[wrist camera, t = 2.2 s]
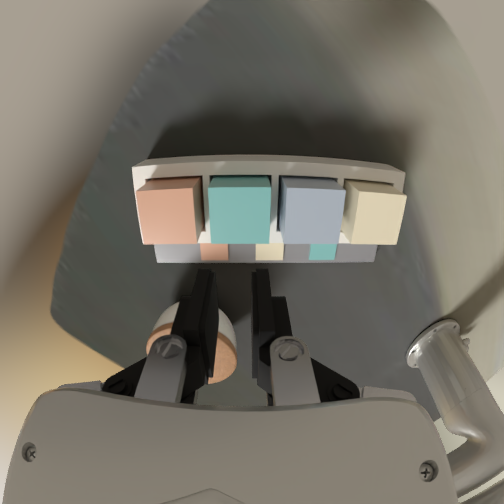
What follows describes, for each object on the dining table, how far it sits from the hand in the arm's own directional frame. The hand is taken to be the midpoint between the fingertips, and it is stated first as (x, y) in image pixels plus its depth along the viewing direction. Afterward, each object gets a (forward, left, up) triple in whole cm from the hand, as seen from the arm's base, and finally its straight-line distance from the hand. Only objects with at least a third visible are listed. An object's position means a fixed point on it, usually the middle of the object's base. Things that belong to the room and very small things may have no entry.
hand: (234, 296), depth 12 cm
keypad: (-3, +2, -17) cm, 18 cm away
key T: (0, 0, -15) cm, 15 cm away
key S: (-6, 0, -15) cm, 16 cm away
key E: (-12, 0, -15) cm, 19 cm away
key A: (+6, 0, -15) cm, 16 cm away
